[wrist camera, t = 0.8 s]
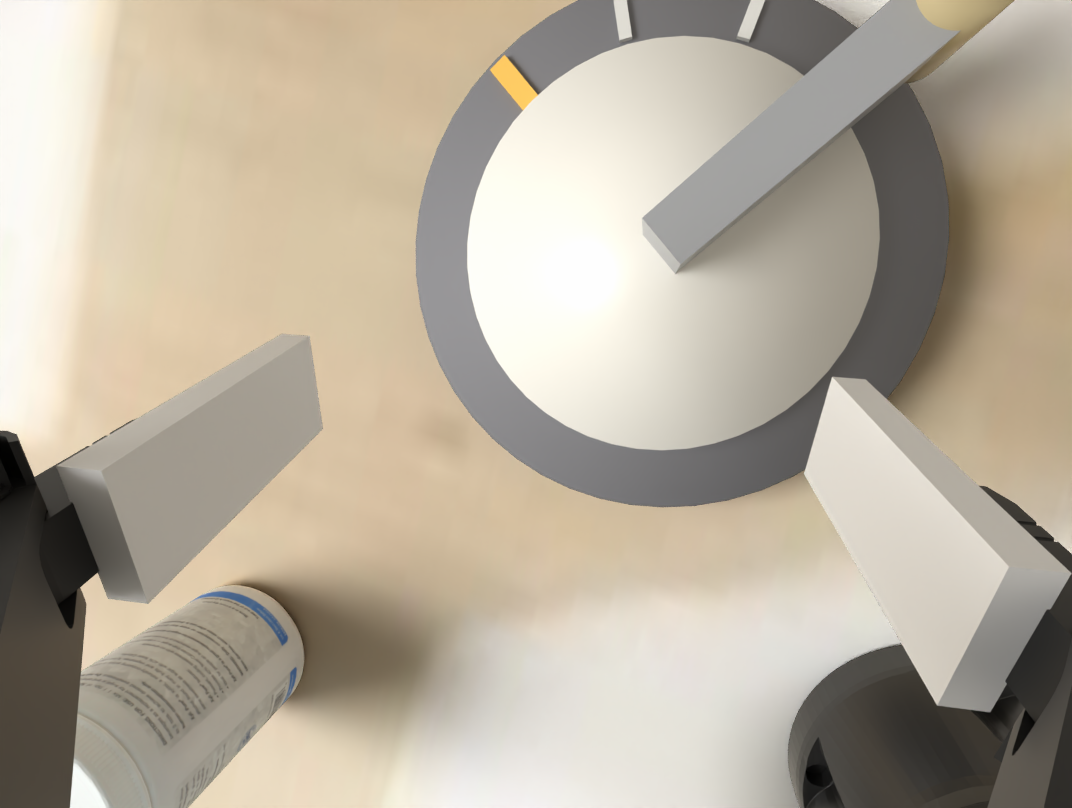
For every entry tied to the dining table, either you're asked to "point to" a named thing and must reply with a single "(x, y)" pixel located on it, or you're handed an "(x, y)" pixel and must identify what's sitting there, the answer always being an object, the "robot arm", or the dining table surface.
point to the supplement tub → (182, 700)
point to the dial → (692, 227)
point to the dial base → (872, 353)
